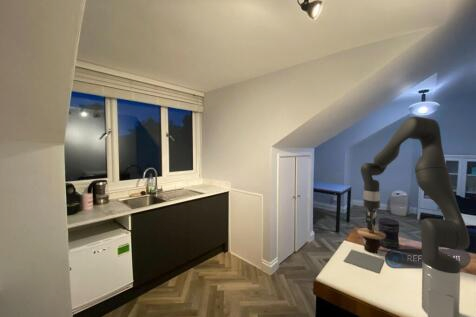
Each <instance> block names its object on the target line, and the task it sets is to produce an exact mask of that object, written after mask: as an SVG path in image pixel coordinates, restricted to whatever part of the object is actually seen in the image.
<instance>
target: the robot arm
mask: <svg viewBox="0 0 476 317" xmlns="http://www.w3.org/2000/svg"><path fill="white" fill-rule="evenodd" d="M440 127H441V126H440V125H439V123H438V121H436V120H435V119H433V118H429V117H428V118H427V117H422V116H409V117H408V118H406V119H405V120H404V121H403V122H402V123H401V125H400V126H399V127H398V129H397V130H396V131H395V133H394V134H393V135H392V137H391V138H390V140H389V141H388V143H386V145H385V146H384V147H383V148H382V149H381V150H380V151H379V152H378V153H377V154H376V155H375V156H374V157H373V159H372V160H373V162H365V163H363V164H362V165H361V167H360V173H361V177H362V180H363V183H364V184H363V207H365V208H367V210H366V212H365V223H366V224H367V225H366V228H367V229H368V230H372V224H373V225H374V227H375V226H376V218H377V210H378V209H380V207H381V194H380V182H379V180H377V179H374V178H373V176H374V177H375V176H380V175H382V174H383V173H384V172H385V171H386V169H387V167H388V165H390V164H391V163H392V162H394V161H395V160H396V159H397V158H398V156H399V153H400V149H401V145H402V144H403V143H405V141H407V140H408V139H412V140H418V141H419V142H420V144H421V149H422V150H421V155H420V157H419V158H418V160H417V161H416V164H415V167H414V173H415V178H416V179H415V180H416V183H417V185H418V187H419V188H420V189H421V191H423V193H424V194H426V196H428V198H430V199H431V200H432V201H433V202H434V203H435V204H436V205H437V207H438V208H439V210H440V211H441V214H442V216H443V219H441V218H440V219H439V218H429V217H428V218H427V217H426V218H423V220H421V221H422V222H421V223H420V236H421V238H420V240H421V255H422V265H421V268H422V269H421V270H422V271H421V308H422V310H423V309H424V310H423V311H424V312H425V314H426V315H428V317H429V316H431V317H460V299H461V298H460V294H461V293H460V292H461V268H462V267H461V263H460V261H459V260H458V259H457V258H455V257H453V256H451V255H449V254H447V253H445V252H442V251H441V250H440V248H446V249H453V250H454V249H455V250H463V251H464V250H466V249H468V248H469V246H470V235H469V231H468V228H467V225H466V223H465V220H464V218H463V215H462V212H461V211H460V208H459V204H458V202H457V198H456V196H455V193H454V189H453V184H452V180H451V176H450V172H449V169H448V166H447V162H446V159H445V153H444V150H443V144H442V135H441V128H440Z"/></svg>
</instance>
